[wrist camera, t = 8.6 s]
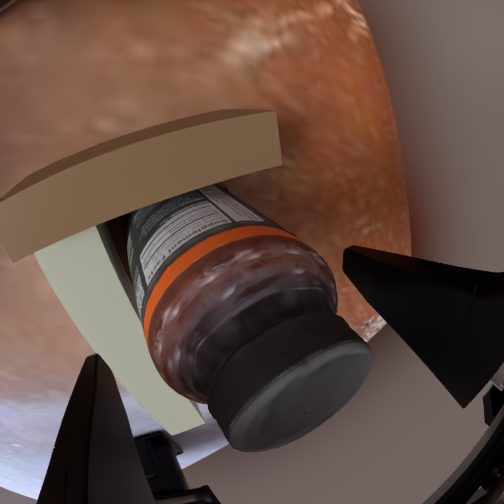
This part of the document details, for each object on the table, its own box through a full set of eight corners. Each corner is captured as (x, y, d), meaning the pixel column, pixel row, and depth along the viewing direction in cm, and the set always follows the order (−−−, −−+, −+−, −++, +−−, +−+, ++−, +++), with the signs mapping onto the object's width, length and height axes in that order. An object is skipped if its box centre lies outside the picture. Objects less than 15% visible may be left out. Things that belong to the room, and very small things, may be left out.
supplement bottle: (243, 248, 17) (384, 389, 8) (152, 293, 15) (233, 483, 7) (215, 153, 14) (422, 254, 5) (105, 202, 12) (122, 429, 3)
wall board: (266, 362, 23) (296, 403, 20) (161, 407, 20) (180, 456, 16) (222, 109, 13) (276, 110, 9) (28, 175, 9) (-12, 209, 6)
